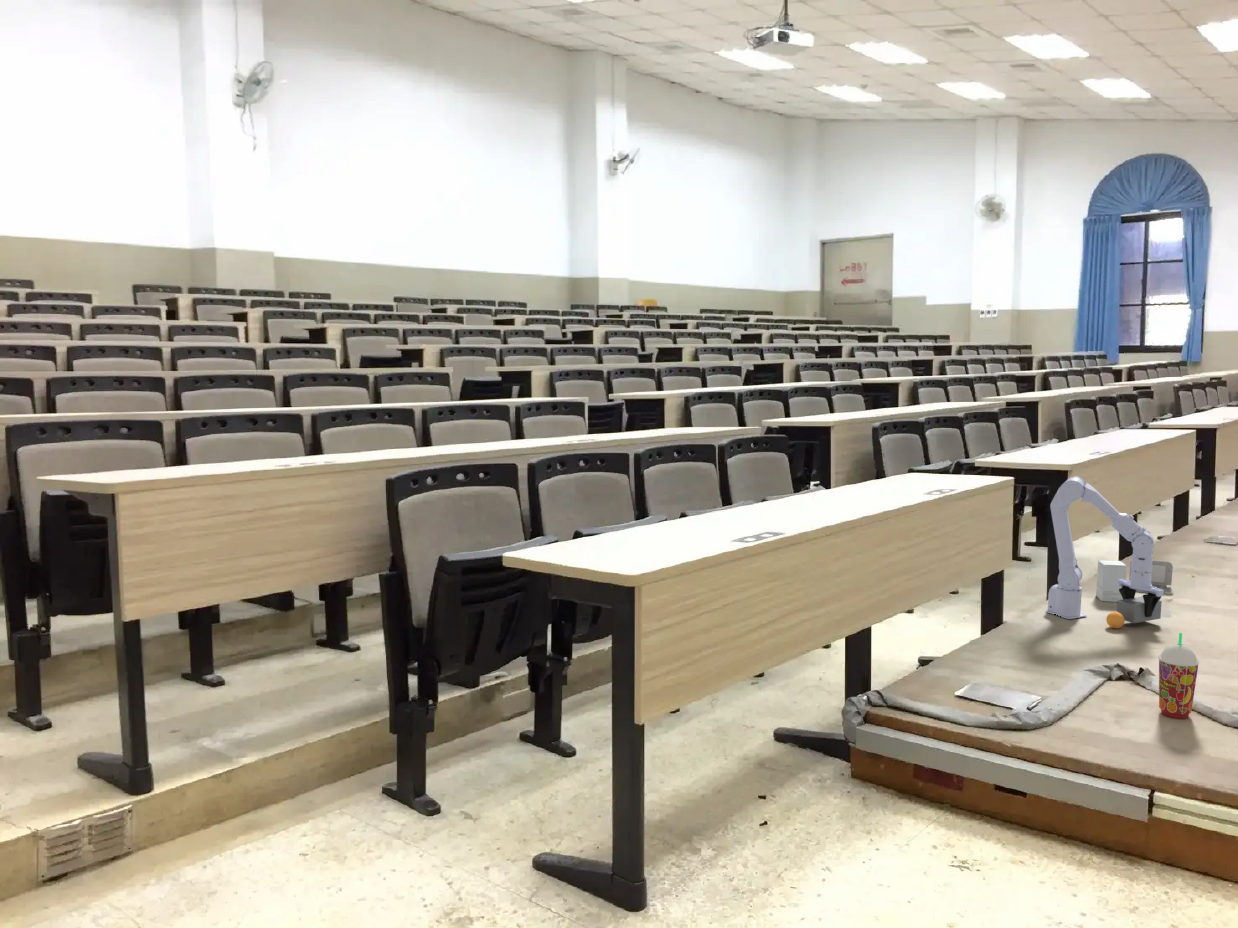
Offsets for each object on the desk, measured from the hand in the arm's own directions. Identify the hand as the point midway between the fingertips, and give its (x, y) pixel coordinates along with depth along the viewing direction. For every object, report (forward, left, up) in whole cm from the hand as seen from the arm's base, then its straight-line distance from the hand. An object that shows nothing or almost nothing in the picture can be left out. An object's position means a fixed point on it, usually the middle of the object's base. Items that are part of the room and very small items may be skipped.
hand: (1138, 613), depth 312 cm
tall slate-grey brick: (0, 0, -1) cm, 1 cm away
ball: (0, -10, -1) cm, 10 cm away
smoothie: (+55, -55, -3) cm, 78 cm away
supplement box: (-24, +16, -3) cm, 29 cm away
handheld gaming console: (-26, +38, -4) cm, 47 cm away
